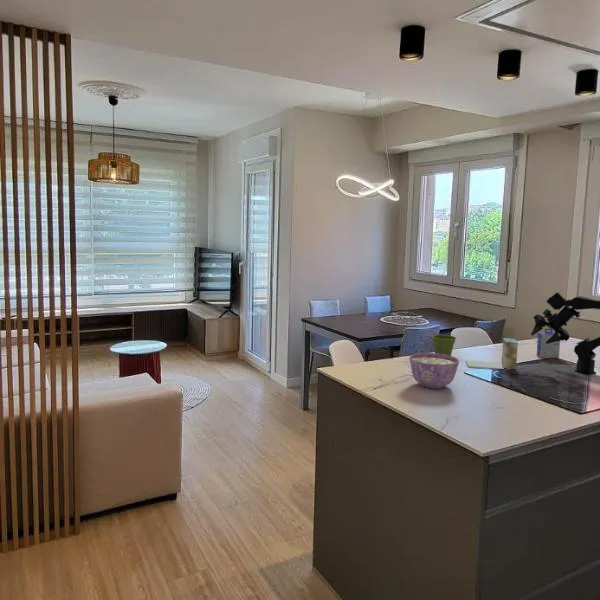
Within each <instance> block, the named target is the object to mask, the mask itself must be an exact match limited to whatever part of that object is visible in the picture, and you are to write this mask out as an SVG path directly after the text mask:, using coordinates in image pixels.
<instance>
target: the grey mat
mask: <svg viewBox="0 0 600 600" xmlns="http://www.w3.org/2000/svg"><path fill="white" fill-rule="evenodd" d="M465 363H466V366H467V368H470V367H471V368H472V369H484V368H491V369H490V370H498V369H504V368H503V366H502V365H501V364H502V362H501V361H500V362H499V361H486V360H485V361H484V360H471V359H470V360H469V359H466V360H465ZM504 370H505V369H504Z"/></svg>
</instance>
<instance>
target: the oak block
mask: <svg viewBox="0 0 600 600" xmlns="http://www.w3.org/2000/svg"><path fill="white" fill-rule="evenodd" d="M502 339H503V340H502V353H501V364H502V366H503V367H504V368H507V369H506V370H508V369H516V370H517V361H518V360H517V359H518V348H519V345H518V344H519V342H518V341H517V340H516V339H515V338H509V337H508V338H505V337H504V338H502Z"/></svg>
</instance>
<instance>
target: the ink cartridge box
mask: <svg viewBox="0 0 600 600" xmlns="http://www.w3.org/2000/svg"><path fill="white" fill-rule="evenodd" d="M554 333H555V332H554V331H553V330H552V329H550V328H544V332H537V342H536V345H537V346H536V357H539V358H541V359H542V358H543V359H545V358H547V359H549V358H550V359H558V358H560V348H561V341H556V342H552V343H549V344H546V341H547V340H548V339H549V338H551V337H552V336H553V335H554Z"/></svg>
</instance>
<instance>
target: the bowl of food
mask: <svg viewBox="0 0 600 600" xmlns="http://www.w3.org/2000/svg"><path fill="white" fill-rule="evenodd" d="M409 363H410V368H411V374H412V378H413V379H414V380H415V381H416V383H418V384H420V385H422V386H423V387H424V386H425V388H427V389H432V390H433V389H434V390H435V389H438V390H439V389H441V388H443V387H446V386H448V385H451V383H452V382H453V380H454V379H455V376H456V373H457V370H458V367H459V364H460V360H459V358H457V357H455V356H453V355H451V356H449V355H445V354H438V353H435V352H418V353H413V354H410V355H409Z"/></svg>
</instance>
